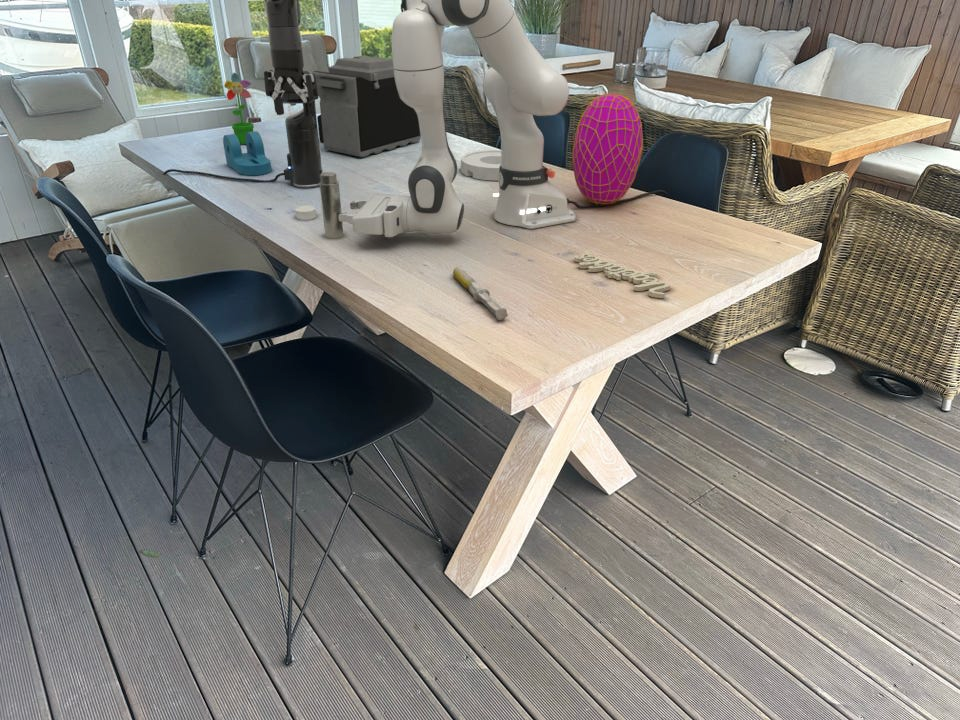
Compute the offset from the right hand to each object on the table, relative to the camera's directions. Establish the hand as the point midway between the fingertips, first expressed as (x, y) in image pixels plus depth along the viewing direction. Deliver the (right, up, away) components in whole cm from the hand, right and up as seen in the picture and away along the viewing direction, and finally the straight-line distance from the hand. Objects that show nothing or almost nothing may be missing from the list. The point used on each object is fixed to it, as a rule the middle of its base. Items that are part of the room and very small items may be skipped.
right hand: (345, 210), depth 172 cm
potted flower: (-55, +45, +88) cm, 113 cm away
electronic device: (-7, +43, +86) cm, 96 cm away
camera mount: (-43, +26, +57) cm, 76 cm away
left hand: (-13, +25, +2) cm, 28 cm away
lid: (-14, +3, +15) cm, 20 cm away
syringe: (+34, -24, -27) cm, 50 cm away
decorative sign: (+66, -18, -17) cm, 71 cm away
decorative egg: (+70, +9, +29) cm, 76 cm away
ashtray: (+39, +26, +57) cm, 74 cm away
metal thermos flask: (-4, -6, +3) cm, 7 cm away
